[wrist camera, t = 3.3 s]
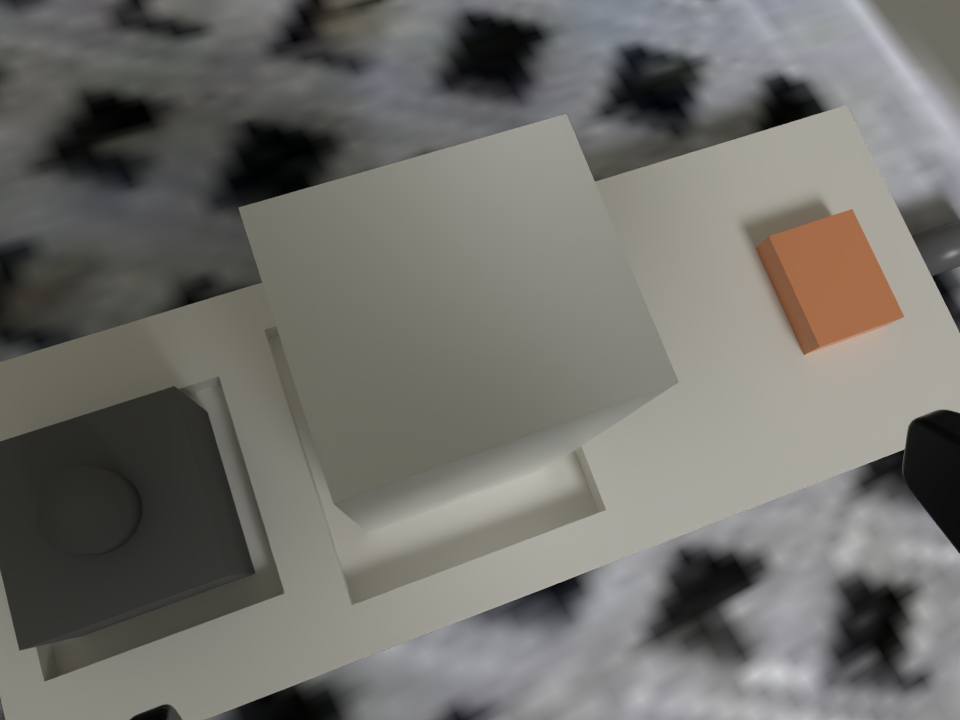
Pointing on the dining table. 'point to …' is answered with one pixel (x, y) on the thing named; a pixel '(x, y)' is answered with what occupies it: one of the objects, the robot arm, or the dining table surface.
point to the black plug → (114, 517)
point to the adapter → (455, 319)
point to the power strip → (548, 493)
